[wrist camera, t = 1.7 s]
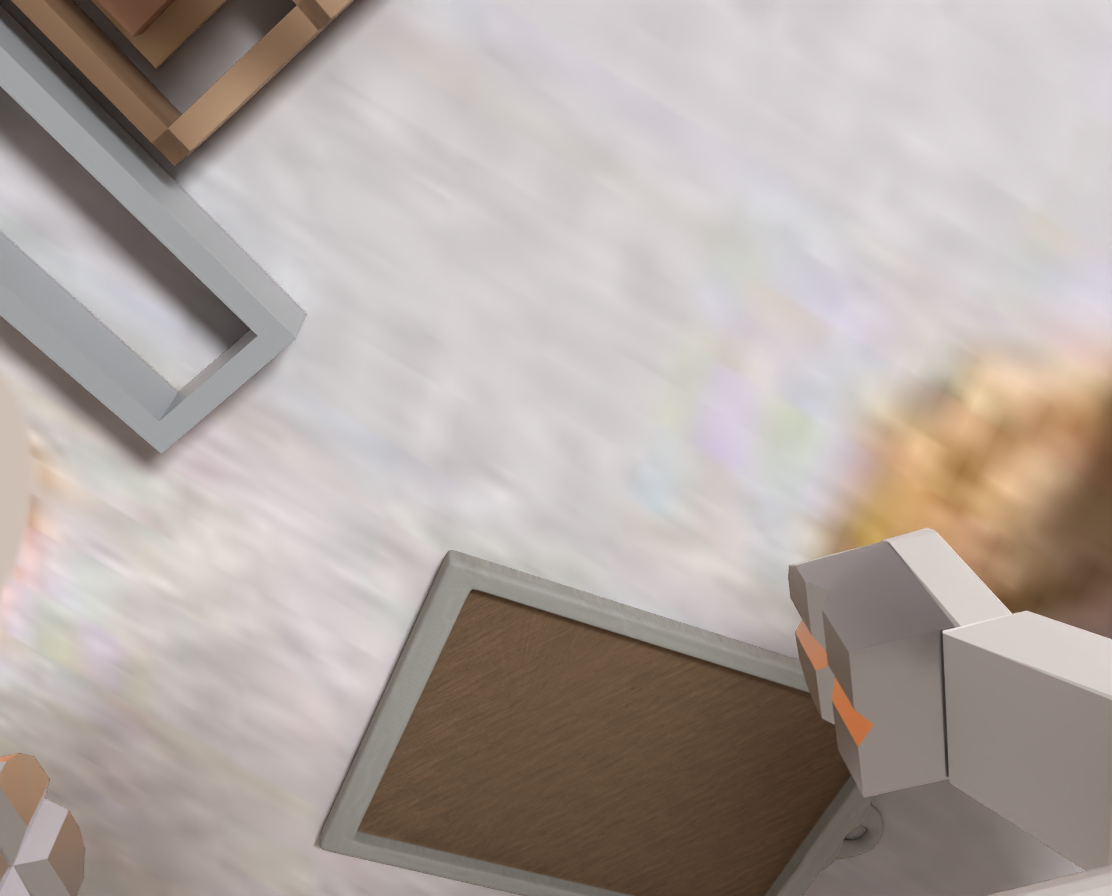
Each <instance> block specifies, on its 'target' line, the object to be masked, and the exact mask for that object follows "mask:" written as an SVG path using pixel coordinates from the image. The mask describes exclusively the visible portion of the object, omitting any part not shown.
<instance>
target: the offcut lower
mask: <svg viewBox="0 0 1112 896" xmlns="http://www.w3.org/2000/svg"><path fill="white" fill-rule="evenodd" d="M91 1H92V2H93V3H94V4H95V5H96V6H97V7H98V8H99V9H100V10H101V11H102V13H103V14H104V15H105V16H106V17H107V18H108V19H109V20H110V21H111V22H112V23H113V24H114V25H115V26H116V27H117V28H118V29H119V31H120V32H121V33H122V34H123V35H124V36H125V37H126V38H127V39H128V40H129V41H130V42H131V43H132V44H133V45H134V46H135V47H136V49H137V50H138V51H139V52H140V53H141V54H142V55H143V56H144V57H145V58H146V59H147V60H148V61H149V62H150V63H151V64H152V65H153V66H154V68H158V67H159V66H160V65H162V64H163V63H164V62H165V61H166V60H167V59H168V58H169V57H170V56H171V55H172V54H173V53H174V52H175V51H176V50H177V49H178V48H179V47H180V46H181V45H182V44H183V43H184V42H185V41H186V40H187V39H188V38H189V37H190V36H191V35H192V34H193V33H194V32H195V31H196V30H197V29H198V28H199V27H200V26H202V25H203V24H204V23H205V22H206V21H207V20H208V19H209V18H210V17H211V16H212V15H213V14H214V13H215V12H216V11H217V10H218V9H219V8H220V7H221V6H222V5H223V4H224V3H225V2H226V1H227V0H175V1H174V2H173V3H172V4H171V5H170V6H169V7H168V8H167V9H166V10H165V11H164V12H163V13H162V14H161V15H160V16H159V17H158V18H157V19H156V20H155V21H154V22H153V23H152V25H151V26H150V27H149V28H148V29H147V30H146V31H145V32H144V33H143V34H141V35H136V36H131V35H130V34H129V33H128V31H127V30H126V29H125V28H124V27H123V26H122V25H121V24H120V23H119V22H118V21H117V20H116V19H115V18H114V17H113V16H112V15H111V14H110V13H109V12H108V11H107V10H106V9H105V8H104V7H103V6H102V5H101V4H100V3H99V2H98V1H97V0H91Z"/></svg>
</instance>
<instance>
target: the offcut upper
mask: <svg viewBox="0 0 1112 896" xmlns="http://www.w3.org/2000/svg"><path fill="white" fill-rule="evenodd" d="M97 1H98V2H99V3H100V4H101V5H102V6H103V7H104V8H105V9H106V10H107V11H108V12H109V13H110V14H111V15H112V16H113V17H114V18H115V19H116V20H117V21H118V22H119V23H120V24H121V25H122V26H123V27H124V28H125V29H126V30H127V31H128V33H129V34H130V35H131V36H136V35H141V34H143V33H144V32H145V31H146V30H147V29H148V28H149V27H150V26H151V25H152V23H153V22H154V21H155V20H156V19H157V18H158V17H159V16H160V15H161V14H162V13H163V12H164V11H165V10H166V9H167V8H168V7H169V6H170V5H171V4H172V3H173V2H174V1H175V0H97Z"/></svg>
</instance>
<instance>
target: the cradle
mask: <svg viewBox="0 0 1112 896" xmlns="http://www.w3.org/2000/svg"><path fill="white" fill-rule="evenodd" d="M0 86H1V87H2V88H3V89H4V90H5V91H6V92H7V93H8V94H9V95H10V96H11V97H12V98H13V99H14V100H15V101H16V102H17V103H18V104H19V105H20V106H21V107H22V108H23V109H24V110H25V111H26V112H27V113H28V114H29V115H30V116H32V117H33V118H34V119H35V120H36V121H37V122H38V123H39V124H40V125H41V126H42V127H43V128H44V129H45V130H46V131H47V132H48V133H49V134H50V135H51V136H52V137H53V138H54V139H55V140H56V141H57V142H58V143H59V144H60V145H61V146H62V147H63V148H65V149H66V150H67V151H68V152H69V153H70V154H71V155H72V156H73V157H74V158H75V159H76V160H77V161H78V162H79V163H80V164H81V165H82V166H83V167H84V168H85V169H86V170H87V171H88V172H89V173H90V174H91V175H92V176H93V177H94V178H95V179H96V180H97V181H99V182H100V183H101V184H102V185H103V186H104V187H105V188H106V189H107V190H108V191H109V192H110V193H111V194H112V195H113V196H114V197H115V198H116V199H117V200H118V201H119V202H120V203H121V204H122V205H123V206H124V207H125V208H126V209H127V210H128V211H129V212H130V213H132V214H133V215H134V216H135V217H136V218H137V219H138V220H139V221H140V222H141V223H142V224H143V225H144V226H145V227H146V228H147V229H148V230H149V231H150V232H151V233H152V234H153V235H154V236H155V237H156V238H157V239H158V240H159V241H160V242H161V243H162V244H163V245H165V246H166V247H167V248H168V249H169V250H170V251H171V252H172V253H173V254H174V255H175V256H176V257H177V258H178V259H179V260H180V261H181V262H182V263H183V264H184V265H185V266H186V267H187V268H188V269H189V270H190V271H191V272H192V273H193V274H194V275H195V276H196V277H197V278H199V279H200V280H201V281H202V282H203V283H204V284H205V285H206V286H207V287H208V288H209V289H210V290H211V291H212V292H213V293H214V294H215V295H216V296H217V297H218V298H219V299H220V300H221V301H222V302H223V303H224V304H225V305H226V306H227V307H228V308H229V309H230V310H232V311H233V312H234V313H235V314H236V315H237V316H238V317H239V318H240V319H241V320H242V321H243V322H244V323H245V324H246V325H247V326H248V327H249V328H250V330H249V331H248V332H247V333H246V334H244V335H243V336H242V337H241V338H240V339H239V340H238V341H236V342H235V343H234V344H233V345H232V346H231V347H230V348H228V349H227V350H226V351H225V352H224V353H223V354H222V355H220V356H219V357H218V358H217V359H216V360H215V361H213V362H212V363H211V364H210V365H209V366H208V367H207V368H205V369H204V370H203V371H202V372H201V373H200V374H199V375H197V376H196V377H195V378H194V379H193V380H192V381H190V382H189V383H188V384H187V385H186V386H185V387H184V388H182V389H181V390H180V391H179V392H178V391H177V390H176V389H175V388H174V387H172V386H171V385H170V384H169V383H168V382H167V381H166V380H165V379H164V378H162V377H161V376H160V375H159V374H158V373H157V372H156V371H155V370H154V369H152V368H151V367H150V366H149V365H148V364H147V363H146V362H145V361H144V360H143V359H141V358H140V357H139V356H138V355H137V354H136V353H135V352H134V351H133V350H131V349H130V348H129V347H128V346H127V345H126V344H125V343H124V342H123V341H121V340H120V339H119V338H118V337H117V336H116V335H115V334H114V333H113V332H111V331H110V330H109V329H108V328H107V327H106V326H105V325H104V324H103V323H101V322H100V321H99V320H98V319H97V318H96V317H95V316H94V315H93V314H91V313H90V312H89V311H88V310H87V309H86V308H85V307H84V306H83V305H81V304H80V303H79V302H78V301H77V300H76V299H75V298H74V297H73V296H71V295H70V294H69V293H68V292H67V291H66V290H65V289H64V288H63V287H61V286H60V285H59V284H58V283H57V282H56V281H55V280H54V279H53V278H51V277H50V276H49V275H48V274H47V273H46V272H45V271H44V270H43V269H41V268H40V267H39V266H38V265H37V264H36V263H35V262H34V261H33V260H31V259H30V258H29V257H28V256H27V255H26V254H25V253H24V252H23V251H21V250H20V249H19V248H18V247H17V246H16V245H15V244H14V243H13V242H12V241H10V240H9V239H8V238H7V237H6V236H5V235H4V234H3V233H2V232H0V316H2V317H3V318H4V319H5V320H6V321H7V322H8V323H10V324H11V325H12V326H13V327H14V328H15V329H17V330H18V331H19V332H20V333H21V334H22V335H24V336H25V337H26V338H27V339H28V340H29V341H31V342H32V343H33V344H34V345H35V346H36V347H38V348H39V349H40V350H41V351H42V352H43V353H45V354H46V355H47V356H48V357H49V358H50V359H51V360H53V361H54V362H55V363H56V364H57V365H58V366H60V367H61V368H62V369H63V370H64V371H65V372H67V373H68V374H69V375H70V376H71V377H72V378H74V379H75V380H76V381H77V382H78V383H79V384H81V385H82V386H83V387H84V388H85V389H86V390H87V391H89V392H90V393H91V394H92V395H93V396H94V397H96V398H97V399H98V400H99V401H100V402H101V403H103V404H104V405H105V406H106V407H107V408H108V409H110V410H111V411H112V412H113V413H114V414H115V415H117V416H118V417H119V418H120V419H121V420H122V421H124V422H125V423H126V424H127V425H128V426H129V427H130V428H132V429H133V430H134V431H135V432H136V433H137V434H139V435H140V436H141V437H142V438H143V439H144V440H146V441H147V442H148V443H149V444H150V445H151V446H153V447H154V448H155V449H156V450H157V451H158V452H160V453H161V454H162V453H163V452H164V451H165V450H167V449H168V448H169V447H170V446H171V445H173V444H174V443H175V442H176V441H177V440H178V439H180V438H181V437H182V436H183V435H184V434H185V433H187V432H188V431H189V430H190V429H191V428H192V427H194V426H195V425H196V424H197V423H198V422H199V421H201V420H202V419H203V418H204V417H205V416H206V415H208V414H209V413H210V412H211V411H212V410H213V409H215V408H216V407H217V406H218V405H219V404H220V403H222V402H223V401H224V400H225V399H226V398H227V397H229V396H230V395H231V394H232V393H233V392H234V391H236V390H237V389H238V388H239V387H240V386H241V385H243V384H244V383H245V382H246V381H247V380H248V379H250V378H251V377H252V376H253V375H254V374H255V373H257V372H258V371H259V370H260V369H261V368H262V367H264V366H265V365H266V364H267V363H268V362H269V361H271V360H272V359H273V358H274V357H275V356H276V355H278V354H279V353H280V352H281V351H282V350H283V349H285V348H286V347H287V346H288V345H289V344H290V343H292V342H293V341H294V340H295V339H296V338H297V335H298V333H299V331H300V329H301V326H302V324H303V322H304V319H305V317H306V315H307V314H306V313H305V312H304V311H303V310H302V309H301V308H300V307H299V306H298V305H297V304H296V303H295V302H294V301H293V300H292V299H291V297H290V296H289V295H288V294H287V293H286V292H285V291H284V290H283V289H282V288H281V287H280V286H279V285H278V284H277V283H276V282H275V281H274V280H273V279H272V278H271V277H270V276H269V275H268V274H267V273H266V272H265V271H264V270H263V269H262V268H261V267H260V266H259V265H258V264H257V263H256V262H255V261H254V260H253V259H252V258H251V257H250V256H249V255H248V254H247V253H246V252H245V251H244V250H243V249H242V248H241V247H240V246H239V245H238V244H237V243H236V242H235V241H234V240H233V239H232V238H231V237H230V236H229V235H228V234H227V233H226V232H225V231H224V230H223V229H222V228H221V227H220V226H219V225H218V224H217V223H216V222H215V221H214V220H213V219H212V218H211V217H210V216H209V215H208V214H207V213H206V212H205V211H204V210H203V209H202V208H201V207H200V206H199V205H198V204H197V203H196V202H195V201H194V200H193V199H192V198H191V197H190V196H189V195H188V194H187V193H186V192H185V191H184V190H183V189H182V188H181V187H180V186H179V185H178V183H177V182H176V181H175V180H174V179H173V178H172V177H171V176H170V175H169V174H168V173H167V172H166V171H165V170H164V169H163V168H162V167H161V166H160V165H159V164H158V163H157V162H156V161H155V160H154V159H153V158H152V157H151V156H150V155H149V154H148V153H147V152H146V151H145V150H144V149H143V148H142V147H141V146H140V145H139V144H138V143H137V142H136V141H135V140H134V139H133V138H132V137H131V136H130V135H129V134H128V133H127V132H126V131H125V130H124V129H123V128H122V127H121V126H120V125H119V124H118V123H117V122H116V121H115V120H114V119H113V118H112V117H111V116H110V115H109V114H108V113H107V112H106V111H105V110H104V109H103V108H102V107H101V106H100V105H99V104H98V103H97V102H96V101H95V100H94V99H93V98H92V97H91V96H90V95H89V94H88V93H87V92H86V91H85V90H84V89H83V88H82V87H81V86H80V85H79V84H78V83H77V82H76V81H75V80H74V79H73V78H72V77H71V76H70V75H69V74H68V73H67V72H66V71H65V69H64V68H63V67H62V66H61V65H60V64H59V63H58V62H57V61H56V60H55V59H54V58H53V57H52V56H51V55H50V54H49V53H48V52H47V51H46V50H45V49H44V48H43V47H42V46H41V45H40V44H39V43H38V42H37V41H36V40H35V39H34V38H33V37H32V36H31V35H30V34H29V33H28V32H27V31H26V30H25V29H24V28H23V27H22V26H21V25H20V24H19V23H18V22H17V21H16V20H15V19H14V18H13V17H12V16H11V15H10V14H9V13H8V12H7V11H6V10H5V9H4V8H3V7H2V6H1V5H0Z"/></svg>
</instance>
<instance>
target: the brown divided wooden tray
mask: <svg viewBox="0 0 1112 896" xmlns="http://www.w3.org/2000/svg"><path fill="white" fill-rule="evenodd" d="M11 1H12V2H13V3H14V4H15V5H16V6H17V7H18V8H19V9H20V10H21V11H22V12H23V13H24V14H25V15H26V16H27V17H28V18H29V19H30V20H31V21H32V22H33V23H34V24H35V25H36V26H37V27H38V28H39V29H40V30H41V31H42V32H43V33H44V34H45V35H46V36H47V37H48V38H49V39H50V40H51V41H52V42H53V43H54V44H55V45H56V46H57V48H58V49H59V50H60V51H61V52H62V53H63V54H64V55H65V56H66V57H67V58H68V59H69V60H70V61H71V62H72V63H73V64H74V65H75V66H76V67H77V68H78V69H79V70H80V71H81V72H82V73H83V74H84V75H85V76H86V77H87V78H88V79H89V80H90V81H91V82H92V83H93V84H94V85H95V86H96V87H97V88H98V89H99V90H100V91H101V92H102V93H103V94H104V95H105V96H106V97H107V98H108V99H109V100H110V101H111V102H112V103H113V104H114V105H115V106H116V107H117V108H118V109H119V111H120V112H121V113H122V114H123V115H124V116H125V117H126V118H127V119H128V120H129V121H130V122H131V123H132V124H133V125H134V126H135V127H136V128H137V129H138V130H139V131H140V132H141V133H142V134H143V135H144V136H145V137H146V138H147V139H148V140H149V141H150V142H151V143H152V144H153V145H154V146H155V147H156V148H157V149H158V150H159V151H160V152H161V153H162V154H163V155H164V156H165V157H166V158H167V159H168V160H169V161H170V162H171V163H172V164H173V165H174V166H175V165H177V164H178V163H180V162H181V161H182V160H184V159H185V158H187V157H188V156H190V155H191V154H192V153H193V152H194V151H195V150H196V149H198V148H199V147H200V146H201V145H202V144H203V143H204V142H205V141H206V140H207V139H208V138H209V137H210V136H211V135H212V134H213V133H215V132H216V131H217V130H218V129H219V128H220V127H221V126H222V125H223V124H224V123H225V122H226V121H227V120H228V119H229V118H230V117H232V116H233V115H234V114H235V113H236V112H237V111H238V110H239V109H240V108H241V107H242V106H243V105H244V104H245V103H246V102H248V101H249V100H250V99H251V98H252V97H253V96H254V95H255V94H256V93H257V92H258V91H259V90H260V89H261V88H262V87H263V86H265V85H266V84H267V83H268V82H269V81H270V80H271V79H272V78H273V77H274V76H275V75H276V74H277V73H278V72H279V71H280V70H282V69H283V68H284V67H285V66H286V65H287V64H288V63H289V62H290V61H291V60H292V59H293V58H294V57H295V56H296V55H297V54H299V53H300V52H301V51H302V50H303V49H304V48H305V47H306V46H307V45H308V44H309V43H310V42H311V41H312V40H313V39H315V38H316V37H317V36H318V35H319V34H320V33H321V32H322V31H323V30H324V29H325V28H326V27H327V26H328V25H329V24H330V23H332V22H333V21H334V20H335V19H336V18H337V17H338V16H339V15H340V14H341V13H342V12H343V11H344V10H345V9H346V8H347V7H349V6H350V5H351V4H352V3H353V2H354V1H355V0H292V1H293V2H294V3H295V4H296V5H297V6H295V7H294V8H293V9H292V10H291V11H290V12H289V13H288V14H287V15H286V16H285V17H284V18H283V19H282V20H281V21H280V22H279V23H278V24H277V25H276V26H275V27H273V28H272V29H271V30H270V31H269V32H268V33H267V34H266V35H265V36H264V37H263V38H262V39H261V40H260V41H259V42H258V43H257V44H256V45H255V46H254V47H253V48H251V49H250V50H249V51H248V52H247V53H246V54H245V55H244V56H243V57H242V58H241V59H240V60H239V61H238V62H237V63H236V64H235V65H234V66H233V67H232V68H231V69H230V70H228V71H227V72H226V73H225V74H224V75H223V76H222V77H221V78H220V79H219V80H218V81H217V82H216V83H215V84H214V85H213V86H212V87H211V88H210V89H209V90H208V91H206V92H205V93H204V94H203V95H202V96H201V97H200V98H199V99H198V100H197V101H196V102H195V103H194V104H193V105H192V106H191V107H190V108H189V109H188V110H187V111H186V112H184V113H183V114H181V113H180V112H179V111H178V110H177V109H176V108H175V107H174V106H173V105H172V104H171V103H170V102H169V101H168V100H167V99H166V98H165V97H164V95H163V94H162V93H161V92H160V91H159V90H158V89H157V88H156V87H155V86H154V85H153V84H152V83H151V82H150V81H149V80H148V79H147V78H146V77H145V76H144V75H143V73H142V72H141V71H140V70H139V69H138V68H137V67H136V66H135V65H134V64H133V63H132V62H131V61H130V60H129V59H128V58H127V57H126V56H125V55H124V54H123V53H122V51H121V50H120V49H119V48H118V47H117V46H116V45H115V44H114V43H113V42H112V41H111V40H110V39H109V38H108V37H107V36H106V35H105V34H104V33H103V32H102V31H101V29H100V28H99V27H98V26H97V25H96V24H95V23H94V22H93V21H92V20H91V19H90V18H89V17H88V16H87V15H86V14H85V13H84V12H83V11H82V10H81V9H80V8H79V6H78V5H77V4H76V3H75V2H74V1H73V0H11Z"/></svg>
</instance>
